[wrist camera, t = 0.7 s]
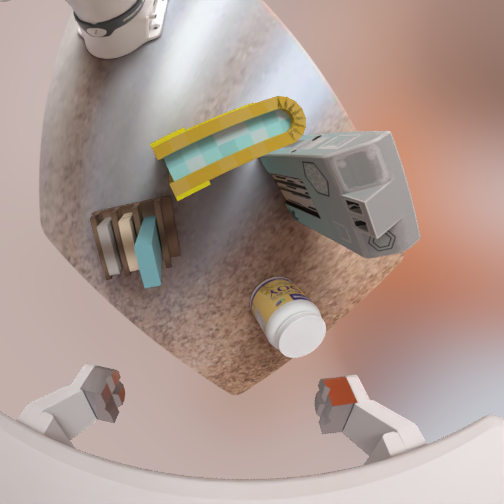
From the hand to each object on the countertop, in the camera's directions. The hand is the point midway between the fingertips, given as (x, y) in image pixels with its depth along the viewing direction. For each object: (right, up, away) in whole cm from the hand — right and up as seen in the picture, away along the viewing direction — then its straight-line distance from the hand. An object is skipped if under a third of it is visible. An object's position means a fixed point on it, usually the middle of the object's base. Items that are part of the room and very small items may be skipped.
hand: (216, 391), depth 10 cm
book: (-8, +26, +40) cm, 48 cm away
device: (+9, +21, +47) cm, 53 cm away
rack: (-21, +9, +41) cm, 47 cm away
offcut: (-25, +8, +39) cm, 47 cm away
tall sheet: (-18, +9, +40) cm, 45 cm away
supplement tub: (+6, -6, +56) cm, 57 cm away
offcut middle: (-21, +9, +40) cm, 46 cm away
